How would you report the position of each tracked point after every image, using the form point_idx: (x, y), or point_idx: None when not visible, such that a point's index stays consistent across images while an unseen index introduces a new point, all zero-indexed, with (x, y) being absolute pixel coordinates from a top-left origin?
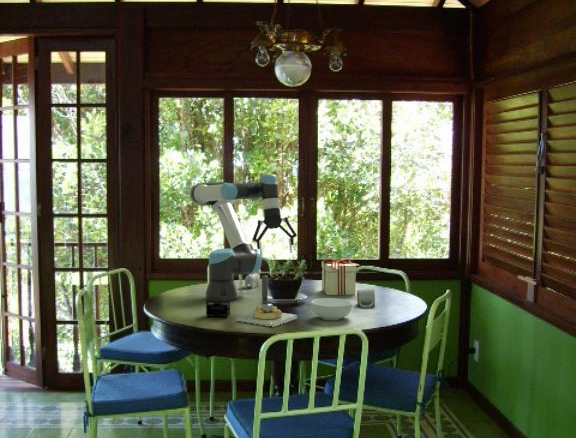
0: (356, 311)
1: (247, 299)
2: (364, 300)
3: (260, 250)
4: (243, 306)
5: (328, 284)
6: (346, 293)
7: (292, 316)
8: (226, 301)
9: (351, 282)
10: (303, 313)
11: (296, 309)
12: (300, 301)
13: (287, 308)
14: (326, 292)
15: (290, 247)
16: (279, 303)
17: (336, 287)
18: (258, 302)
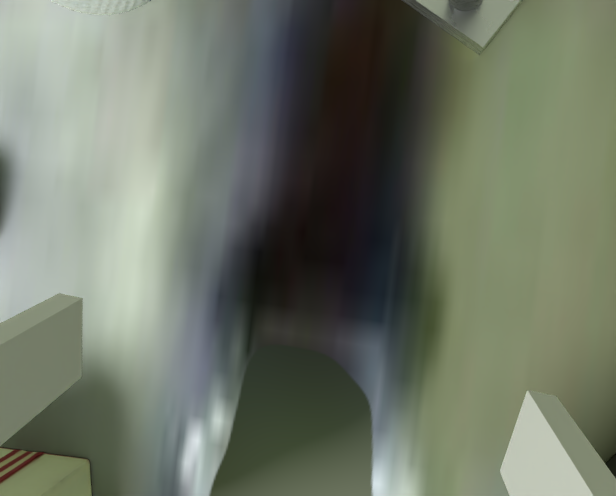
0: (17, 85)
1: None
2: None
3: (594, 463)
4: (570, 257)
5: (41, 492)
6: (6, 453)
7: None
8: None
9: None
10: (249, 48)
11: (271, 147)
12: (228, 342)
13: (315, 176)
14: (84, 486)
15: (2, 334)
16: (342, 310)
17: (19, 476)
18: (461, 356)
